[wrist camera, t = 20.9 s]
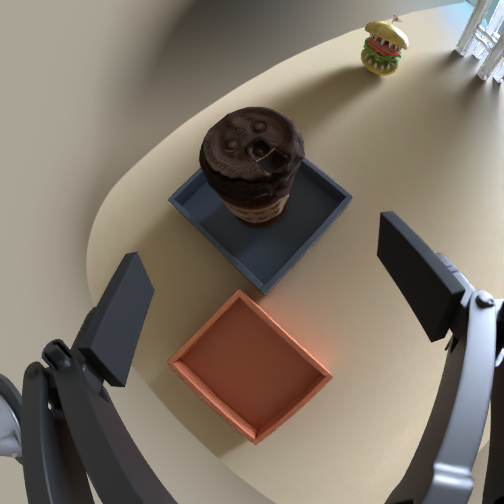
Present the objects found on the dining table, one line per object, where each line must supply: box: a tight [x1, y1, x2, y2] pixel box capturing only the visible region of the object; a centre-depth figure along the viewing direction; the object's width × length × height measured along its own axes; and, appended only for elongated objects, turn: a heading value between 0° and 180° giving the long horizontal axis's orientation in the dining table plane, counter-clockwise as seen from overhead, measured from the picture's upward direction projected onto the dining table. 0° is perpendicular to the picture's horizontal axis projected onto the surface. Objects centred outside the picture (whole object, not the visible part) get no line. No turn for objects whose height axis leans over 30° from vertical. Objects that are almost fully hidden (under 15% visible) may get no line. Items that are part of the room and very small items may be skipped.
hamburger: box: [361, 15, 408, 76], centre depth 30 cm, size 8×7×12 cm
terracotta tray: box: [167, 289, 333, 445], centre depth 27 cm, size 13×11×3 cm
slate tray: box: [168, 158, 353, 296], centre depth 30 cm, size 15×14×3 cm
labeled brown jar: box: [199, 107, 305, 229], centre depth 25 cm, size 9×8×13 cm
